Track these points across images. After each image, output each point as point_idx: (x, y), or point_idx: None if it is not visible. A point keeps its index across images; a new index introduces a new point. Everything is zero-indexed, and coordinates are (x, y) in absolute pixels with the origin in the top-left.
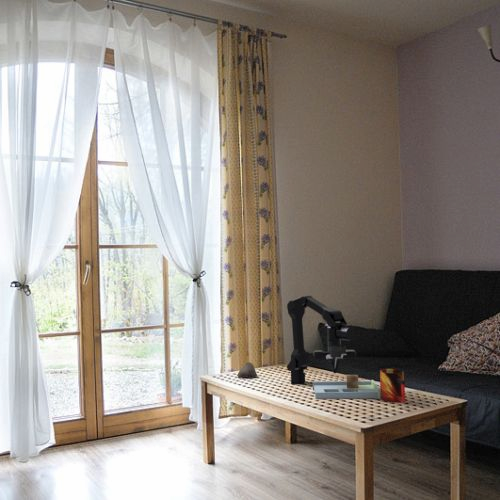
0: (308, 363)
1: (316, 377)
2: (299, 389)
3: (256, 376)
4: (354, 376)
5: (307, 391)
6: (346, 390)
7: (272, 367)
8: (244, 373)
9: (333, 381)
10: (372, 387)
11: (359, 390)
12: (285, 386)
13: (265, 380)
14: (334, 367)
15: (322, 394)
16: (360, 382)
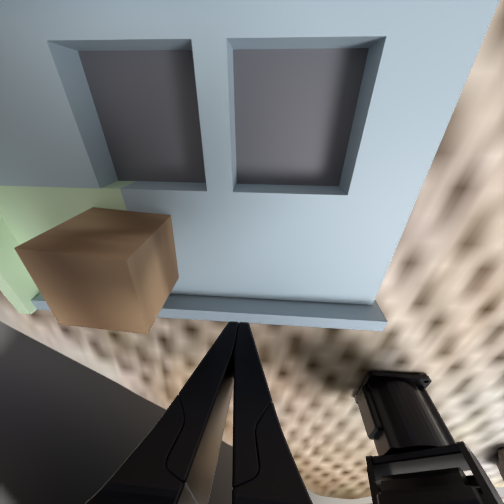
0: (380, 499)
1: (292, 424)
2: (439, 300)
3: (500, 451)
4: (59, 272)
5: (417, 257)
6: (177, 187)
7: None
8: None
9: (252, 320)
10: (14, 227)
11: (65, 131)
12: (475, 352)
13: (495, 421)
14: (235, 382)
15: None
16: None
